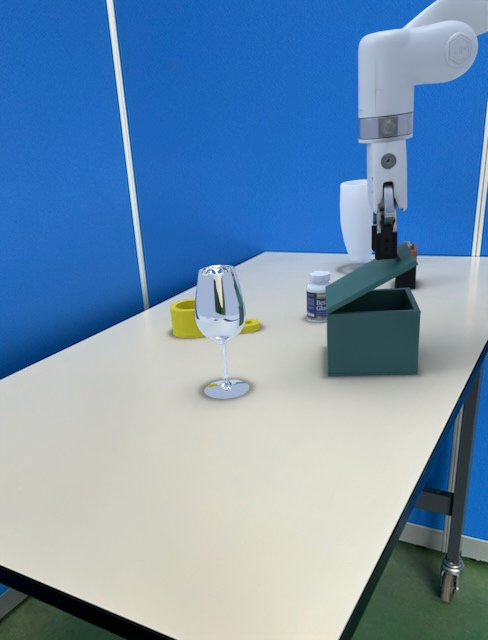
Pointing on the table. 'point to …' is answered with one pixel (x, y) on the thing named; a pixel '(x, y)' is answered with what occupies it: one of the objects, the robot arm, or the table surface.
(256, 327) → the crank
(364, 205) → the cup
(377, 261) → the chest lid
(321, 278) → the pill bottle
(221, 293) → the wineglass
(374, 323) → the cool chest
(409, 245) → the battery
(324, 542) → the table surface
